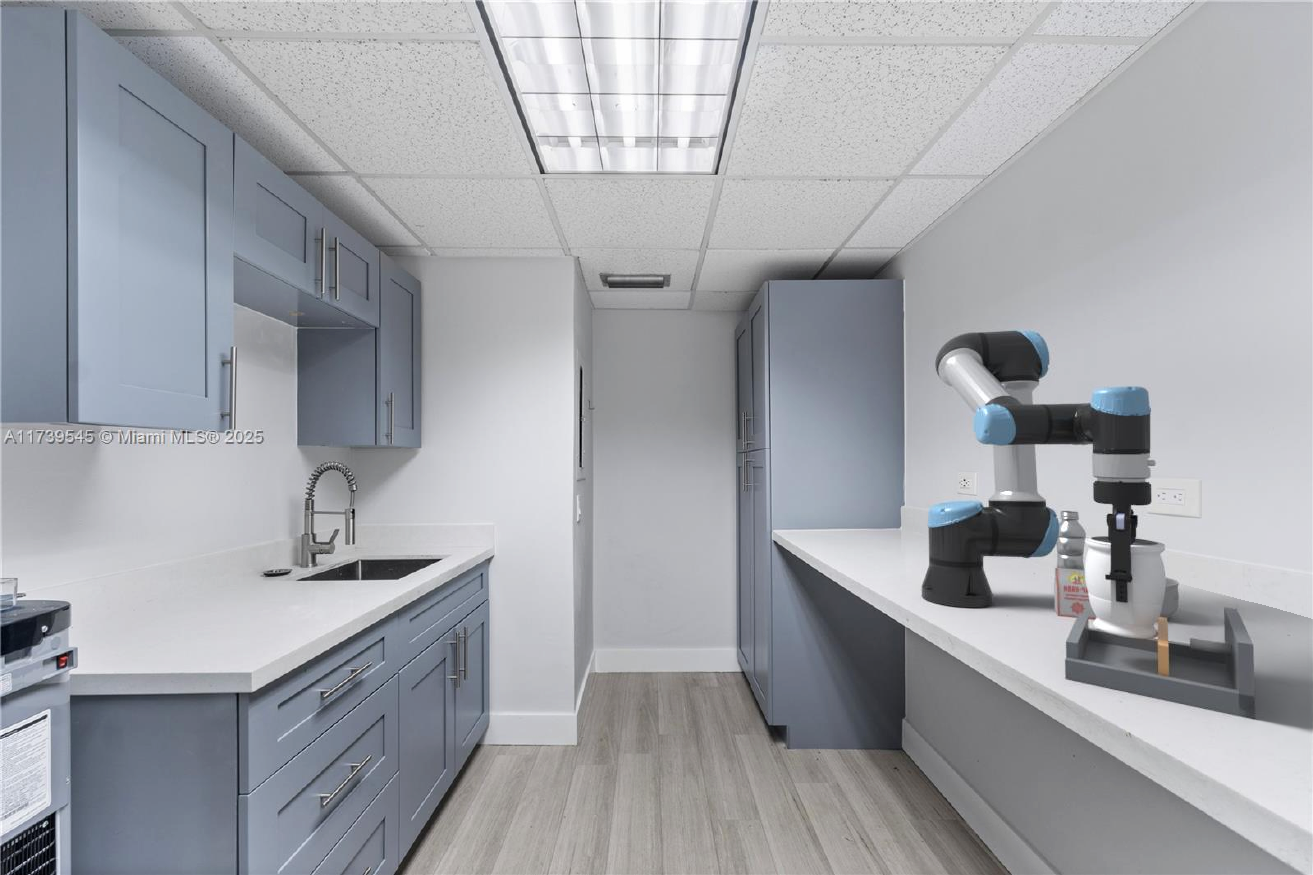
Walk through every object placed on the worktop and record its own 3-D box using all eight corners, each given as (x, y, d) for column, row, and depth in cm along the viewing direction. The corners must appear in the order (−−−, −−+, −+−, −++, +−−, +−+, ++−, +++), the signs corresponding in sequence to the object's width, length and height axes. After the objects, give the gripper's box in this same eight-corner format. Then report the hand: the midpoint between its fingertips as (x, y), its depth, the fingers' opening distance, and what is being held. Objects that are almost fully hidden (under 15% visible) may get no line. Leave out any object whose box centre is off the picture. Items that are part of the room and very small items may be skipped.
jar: (1183, 644, 89) (1181, 547, 89) (1107, 640, 91) (1106, 545, 92) (1140, 623, 100) (1139, 536, 100) (1073, 619, 102) (1072, 534, 102)
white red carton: (1054, 611, 128) (1053, 566, 128) (1092, 615, 125) (1091, 569, 125) (1057, 616, 125) (1056, 569, 125) (1096, 620, 122) (1095, 572, 122)
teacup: (1190, 625, 118) (1189, 586, 118) (1125, 620, 121) (1124, 582, 122) (1158, 607, 131) (1157, 571, 131) (1100, 603, 134) (1099, 568, 135)
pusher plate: (1158, 685, 86) (1157, 645, 86) (1158, 651, 99) (1157, 616, 100) (1169, 687, 85) (1168, 646, 85) (1167, 653, 99) (1167, 618, 99)
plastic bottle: (1048, 588, 148) (1046, 510, 148) (1072, 587, 149) (1071, 510, 149) (1068, 595, 141) (1067, 513, 142) (1093, 594, 142) (1092, 513, 142)
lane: (1065, 678, 92) (1064, 615, 92) (1079, 642, 108) (1078, 588, 108) (1254, 719, 78) (1253, 644, 78) (1238, 670, 94) (1236, 608, 95)
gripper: (1150, 484, 85) (1153, 636, 84) (1151, 477, 102) (1154, 603, 102) (1086, 482, 90) (1089, 626, 89) (1098, 476, 107) (1100, 596, 107)
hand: (1123, 614), depth 95 cm, fingers closed on jar, 10 cm apart
